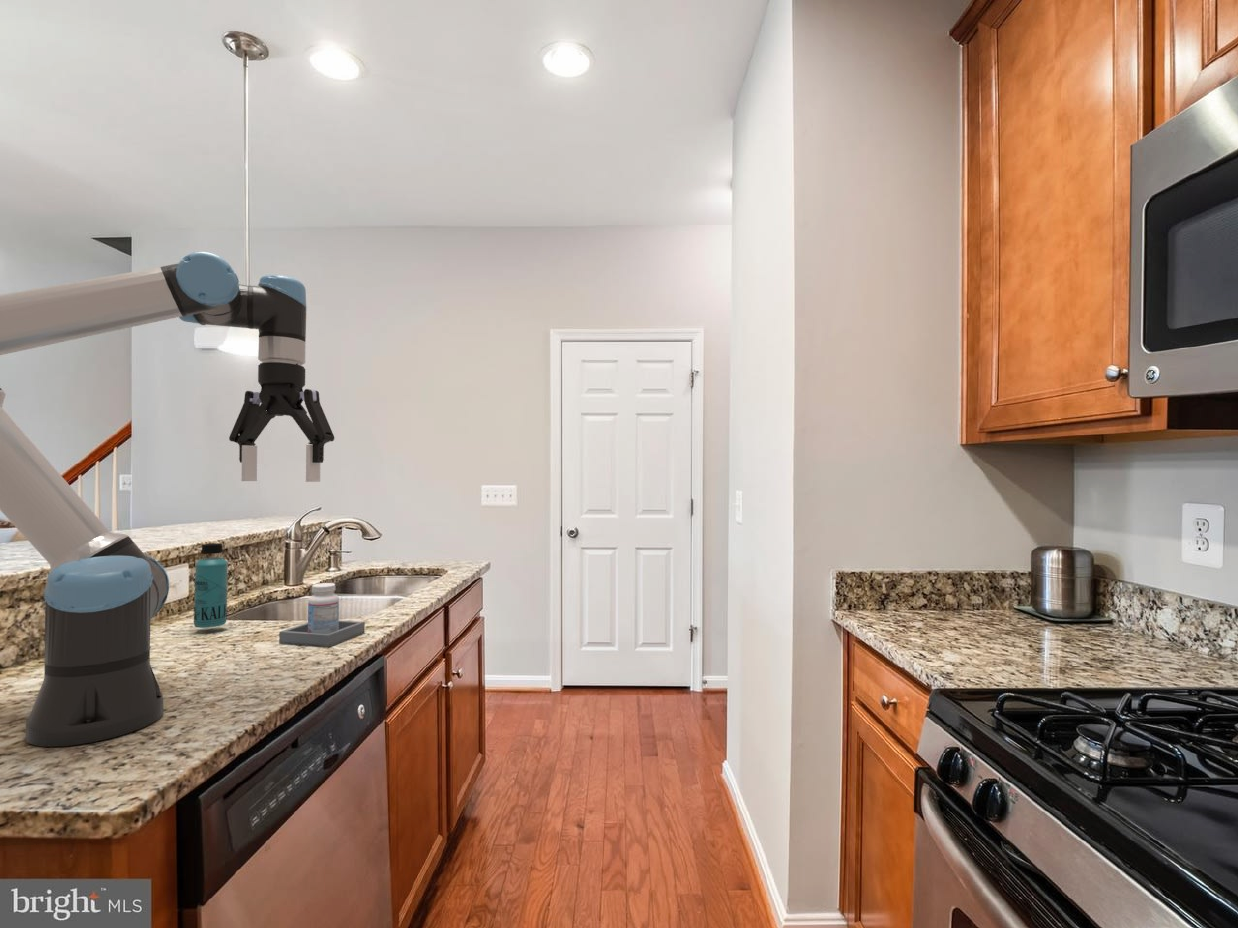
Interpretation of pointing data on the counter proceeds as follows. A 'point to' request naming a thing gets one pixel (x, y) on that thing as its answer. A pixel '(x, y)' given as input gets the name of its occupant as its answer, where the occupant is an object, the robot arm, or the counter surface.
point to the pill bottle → (323, 609)
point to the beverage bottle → (210, 589)
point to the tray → (321, 635)
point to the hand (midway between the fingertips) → (280, 481)
